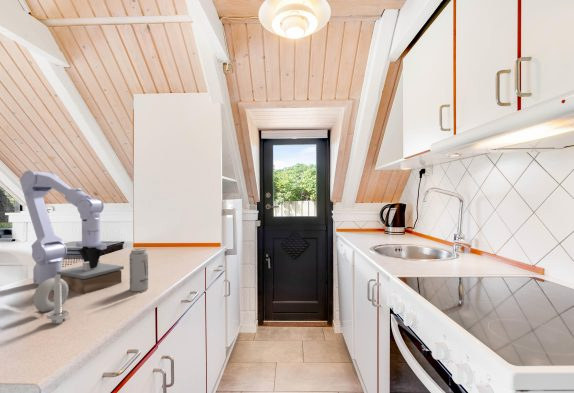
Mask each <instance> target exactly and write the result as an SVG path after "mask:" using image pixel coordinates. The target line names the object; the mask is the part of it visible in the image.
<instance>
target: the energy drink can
mask: <svg viewBox="0 0 574 393" xmlns="http://www.w3.org/2000/svg"><path fill="white" fill-rule="evenodd" d="M148 289H149V252H148V251H147V248H143V247H141V248H134V249H131V251H130V253H129V291H131V292H139V294H142V293H145V292H147V290H148Z"/></svg>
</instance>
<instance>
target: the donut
mask: <svg viewBox="0 0 574 393" xmlns="http://www.w3.org/2000/svg"><path fill="white" fill-rule="evenodd" d="M60 280H61V285H62V286H61V287H62V288H61V289H62V290H61V291H62V292H61V293H62V294H61V295H62V297H61V298H62V299H61V300H62V301H61V302H62V303H61V304H62V305H61V306H62V307H63V305H64V304H65V302H66V300H67V299H68V296H69V289H68V285H67V283H66V282H65V281H64V280H63V279H60ZM54 285H55V278H50V279H48V280H45V281H44V282H43V283H41V284H40V285H38V287H37V288H36V289H35V291H34V294H33V300H32V301H33V305H34V307H35V309H36V310H38V311H39V312H41V313H49V312H53V311H54V301H53V300H54V299H53V298H52V299H50V300H49V294H50V293H51V292H52V291H53V290H54V288H53V287H54Z"/></svg>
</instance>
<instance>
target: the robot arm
mask: <svg viewBox="0 0 574 393" xmlns="http://www.w3.org/2000/svg"><path fill="white" fill-rule="evenodd" d="M19 182H20V185H21V188H22V193H23V195H24V196H23V197H24V199H25V203H26V206H27V209H28V213H29V216H30V219H31V223H32V226H33V230H34V233H35V235H36V236H35V237H36V240H35V241H34V242H33V243H32V244H31V250H32V251H31V252H32V253H31V257H32V259H33V261H34V262H35V265H34V267H33V269H32V271H33V273H32V274H33V275H32V277H33V278H32V279H33V280H32V281H33V284H34V285H38V286H39V285H40V284H41V283H43V282H44V281H45V280H48V279H50V278H55V276H56V275H58V274H57V271H62V270H63V261H64V260H65V257H66V256H67V254H68V247H67V246H66V244H65V242H63V239H62V238H61V237H59V236H57V235H55V232H54V228H53V225H52V222H51V218H50V215H49V213H48V209H47V205H46V202H45V200H44V197H45V196H46V195H47V194H48V193H50V192H51V191H52V190H55V191H57V192H58V193H60V194H61V195H64V200H65V201H66V202H68V203H70V204H71V205H72V206H74V207H75V208H77V212H78V213H79V215H80V216H79V218H80V220H81V241H75V247H76V248H79V249H78V250H77V251H78V253H79V254H80V255H81V258H82V260H83V262H88V261H89V265H90V268H96V267H97V264H98V261H100V258H101V255H102V253H103V252H104V250H107V249H108V248H107V247H108V245H107V243H104V242H102V241H101V213H102V212H103V211H104V208H105V207H104V203H103V201H102V199H100V198H93V197H92V195H90V194H87V193H85V192H84V191H83V189H82V188H80V187H73V188H72V187H71V186H70V185H68V184H67V183H66V182H65V181H63V180H62V179H61V178H59V175H58V174H55V173H54V172H52V171H34V170H25V171H24V172H23V173H22V174H21V177H20V178H19Z"/></svg>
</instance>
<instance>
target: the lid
mask: <svg viewBox="0 0 574 393" xmlns="http://www.w3.org/2000/svg"><path fill="white" fill-rule="evenodd" d="M100 261H101V260H99V261H98V264H97V267H96V268H90V265H89V261H88V262H84V261H83V262H82V265H80V266H76V267H72V268H67V269H62V271H57V274H58V275H64V276H69V277H75V278H81V279H86V278H90V277H94V276H98V275H102V274H106V273H110V272H114V271H118V270H121V271H122V270H124V269H125V268H124V265H118V264H117V265H116V264H108V263H102V262H100Z"/></svg>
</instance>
